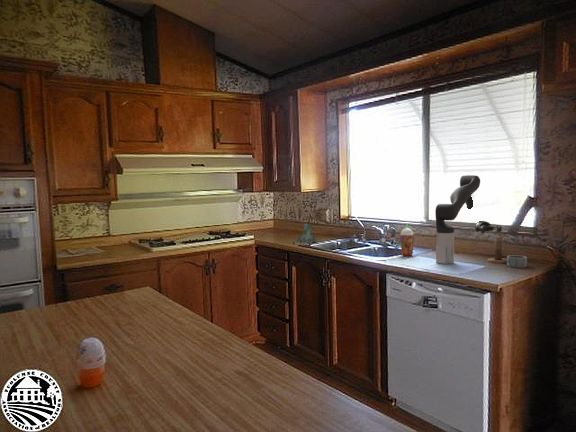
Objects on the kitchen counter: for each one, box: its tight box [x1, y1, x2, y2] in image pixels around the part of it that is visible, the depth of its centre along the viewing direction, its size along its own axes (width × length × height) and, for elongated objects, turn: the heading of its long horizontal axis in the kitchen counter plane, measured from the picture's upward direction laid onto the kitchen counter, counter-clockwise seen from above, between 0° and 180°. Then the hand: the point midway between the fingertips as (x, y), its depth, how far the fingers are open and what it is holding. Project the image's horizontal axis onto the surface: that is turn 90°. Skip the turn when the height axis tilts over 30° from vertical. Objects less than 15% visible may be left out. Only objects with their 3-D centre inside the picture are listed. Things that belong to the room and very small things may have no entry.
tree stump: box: [295, 222, 318, 244], centre depth 345 cm, size 18×20×18 cm
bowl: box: [506, 254, 528, 269], centre depth 231 cm, size 9×9×5 cm
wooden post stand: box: [486, 236, 507, 264], centre depth 245 cm, size 11×11×14 cm
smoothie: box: [399, 223, 415, 257], centre depth 273 cm, size 8×8×20 cm
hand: (491, 230), depth 255 cm, fingers open, 8 cm apart
